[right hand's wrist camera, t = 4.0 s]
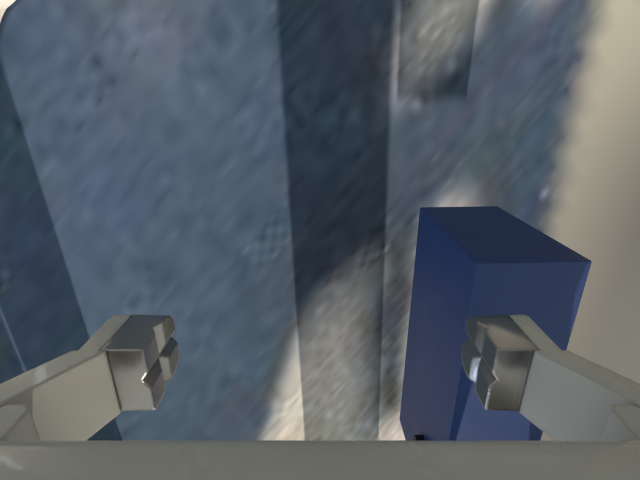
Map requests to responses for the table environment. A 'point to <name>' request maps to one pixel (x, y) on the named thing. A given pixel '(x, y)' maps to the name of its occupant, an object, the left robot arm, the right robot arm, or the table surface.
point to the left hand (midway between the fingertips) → (458, 441)
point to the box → (478, 314)
